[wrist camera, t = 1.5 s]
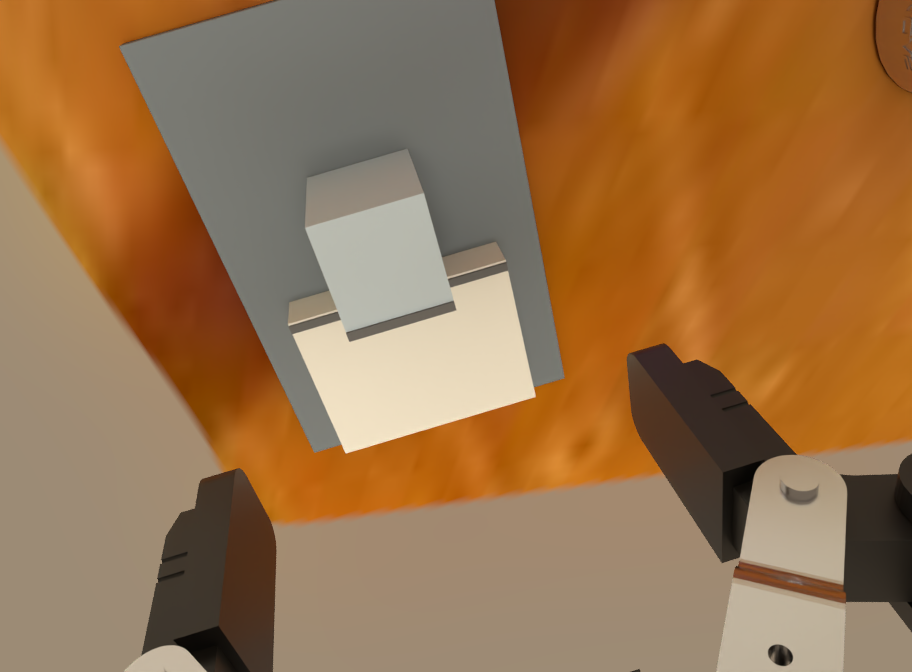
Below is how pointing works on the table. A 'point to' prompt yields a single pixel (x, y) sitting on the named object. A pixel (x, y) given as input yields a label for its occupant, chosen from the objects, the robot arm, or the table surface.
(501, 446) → the table surface
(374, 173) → the stub
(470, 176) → the pad
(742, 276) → the table surface
